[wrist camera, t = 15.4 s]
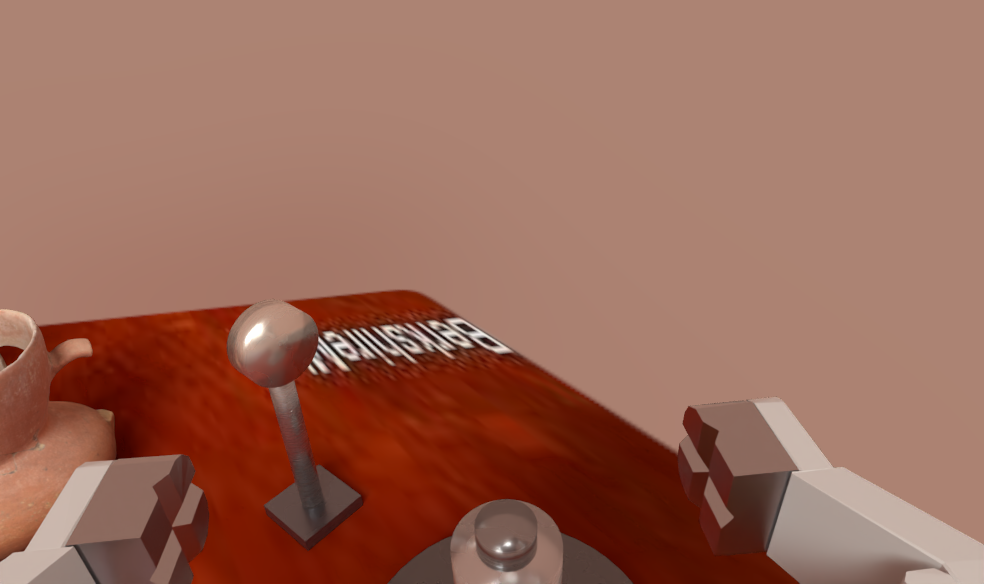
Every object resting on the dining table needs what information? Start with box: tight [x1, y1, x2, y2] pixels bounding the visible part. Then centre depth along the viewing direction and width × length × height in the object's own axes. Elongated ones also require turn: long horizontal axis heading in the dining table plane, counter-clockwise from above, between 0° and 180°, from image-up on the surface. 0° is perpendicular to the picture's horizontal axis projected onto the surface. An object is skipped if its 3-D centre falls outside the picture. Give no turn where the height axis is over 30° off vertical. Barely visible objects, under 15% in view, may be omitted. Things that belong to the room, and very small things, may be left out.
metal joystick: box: [227, 299, 363, 550], centre depth 42 cm, size 5×5×18 cm
